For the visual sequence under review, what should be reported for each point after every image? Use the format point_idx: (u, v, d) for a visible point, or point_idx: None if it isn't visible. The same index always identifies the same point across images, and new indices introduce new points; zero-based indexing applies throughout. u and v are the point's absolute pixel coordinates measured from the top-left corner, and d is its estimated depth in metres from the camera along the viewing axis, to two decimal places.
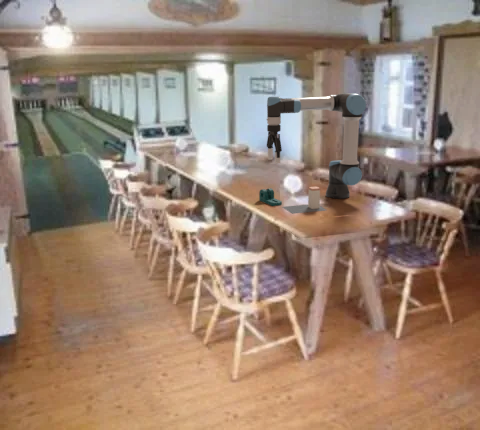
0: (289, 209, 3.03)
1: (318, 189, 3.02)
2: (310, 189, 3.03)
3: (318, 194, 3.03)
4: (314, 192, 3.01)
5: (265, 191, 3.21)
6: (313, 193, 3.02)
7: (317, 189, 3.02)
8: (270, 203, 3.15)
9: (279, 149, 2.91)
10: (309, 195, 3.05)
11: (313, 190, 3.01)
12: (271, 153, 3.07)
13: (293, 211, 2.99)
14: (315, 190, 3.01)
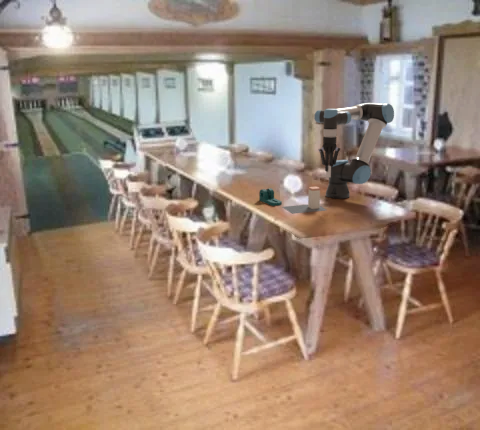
0: (289, 209, 3.03)
1: (318, 189, 3.02)
2: (310, 189, 3.03)
3: (318, 194, 3.03)
4: (314, 192, 3.01)
5: (265, 191, 3.21)
6: (313, 193, 3.02)
7: (317, 189, 3.02)
8: (270, 203, 3.15)
9: None
10: (309, 195, 3.05)
11: (313, 190, 3.01)
12: None
13: (293, 211, 2.99)
14: (315, 190, 3.01)
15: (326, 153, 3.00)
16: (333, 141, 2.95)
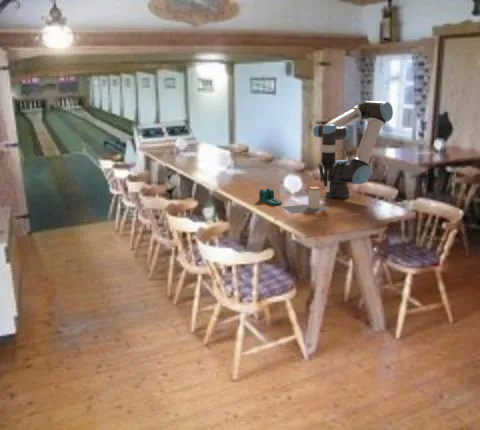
0: (289, 209, 3.03)
1: (318, 189, 3.02)
2: (310, 189, 3.03)
3: (318, 194, 3.03)
4: (314, 192, 3.01)
5: (265, 191, 3.21)
6: (313, 193, 3.02)
7: (317, 189, 3.02)
8: (270, 203, 3.15)
9: None
10: (309, 195, 3.05)
11: (313, 190, 3.01)
12: None
13: (293, 211, 2.99)
14: (315, 190, 3.01)
15: (325, 168, 3.02)
16: (332, 156, 2.98)
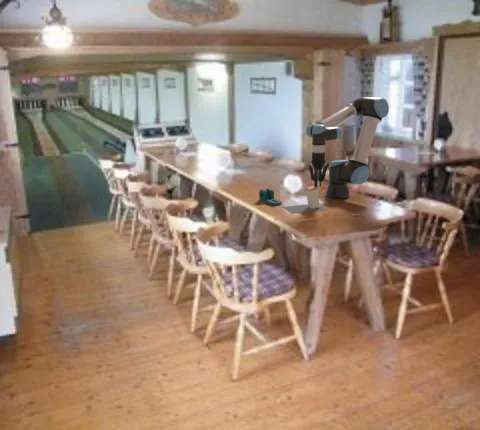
0: (289, 209, 3.03)
1: (316, 189, 3.01)
2: (308, 189, 3.03)
3: (316, 194, 3.02)
4: (312, 192, 3.01)
5: (265, 191, 3.21)
6: (311, 193, 3.01)
7: (315, 189, 3.01)
8: (270, 203, 3.15)
9: None
10: (307, 195, 3.05)
11: (311, 190, 3.01)
12: None
13: (293, 211, 2.99)
14: (313, 190, 3.01)
15: (315, 169, 3.00)
16: (322, 157, 2.96)
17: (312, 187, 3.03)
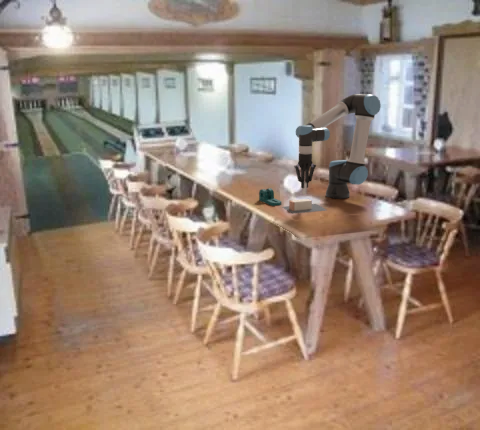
0: (289, 209, 3.03)
1: (293, 204, 3.00)
2: None
3: (298, 203, 3.00)
4: (295, 208, 3.01)
5: (265, 191, 3.21)
6: (297, 208, 3.01)
7: (293, 205, 3.00)
8: (270, 203, 3.16)
9: None
10: None
11: (294, 209, 3.01)
12: None
13: (293, 211, 2.99)
14: (294, 207, 3.00)
15: (302, 170, 2.98)
16: (308, 158, 2.94)
17: (291, 205, 3.02)
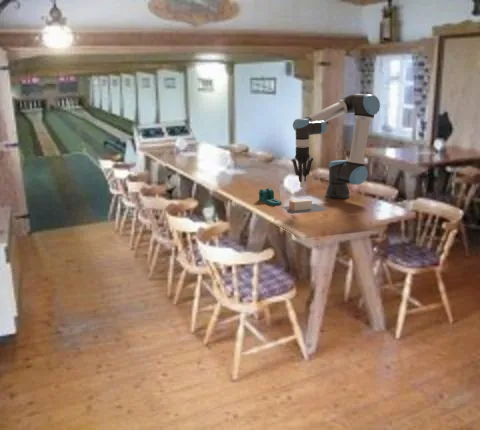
0: (289, 209, 3.03)
1: (293, 204, 3.00)
2: None
3: (298, 203, 3.00)
4: (295, 208, 3.01)
5: (265, 191, 3.22)
6: (297, 208, 3.01)
7: (293, 205, 3.00)
8: (270, 203, 3.16)
9: None
10: None
11: (294, 209, 3.01)
12: None
13: (293, 211, 2.99)
14: (294, 207, 3.00)
15: (299, 163, 2.97)
16: (305, 151, 2.92)
17: (291, 205, 3.02)
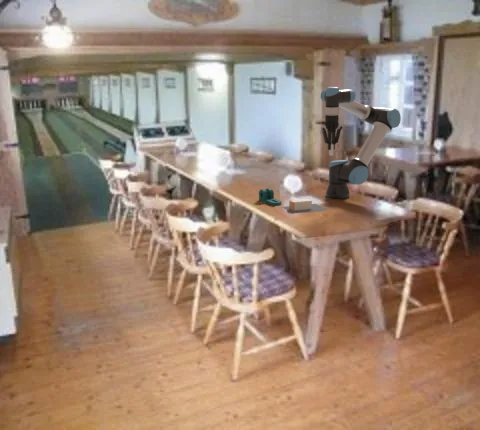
0: (289, 209, 3.03)
1: (293, 204, 3.00)
2: None
3: (298, 203, 3.00)
4: (295, 208, 3.01)
5: (265, 191, 3.22)
6: (297, 208, 3.01)
7: (293, 205, 3.00)
8: (270, 203, 3.16)
9: (326, 141, 3.04)
10: None
11: (294, 209, 3.01)
12: None
13: (293, 211, 2.99)
14: (294, 207, 3.00)
15: (328, 131, 3.02)
16: (335, 119, 2.98)
17: (291, 205, 3.02)
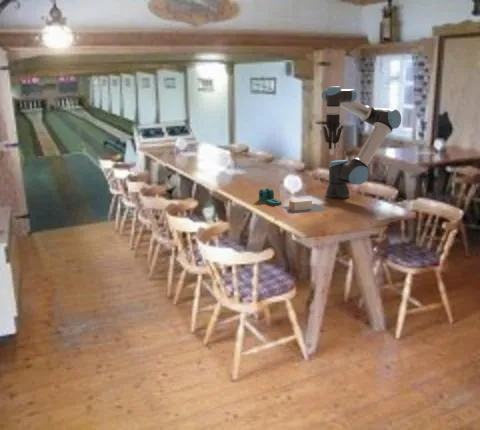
0: (289, 209, 3.03)
1: (293, 204, 3.00)
2: None
3: (298, 203, 3.00)
4: (295, 208, 3.01)
5: (265, 191, 3.22)
6: (297, 208, 3.01)
7: (293, 205, 3.00)
8: (270, 203, 3.16)
9: None
10: None
11: (294, 209, 3.01)
12: None
13: (293, 211, 2.99)
14: (294, 207, 3.00)
15: (329, 130, 3.02)
16: (336, 118, 2.98)
17: (291, 205, 3.02)
